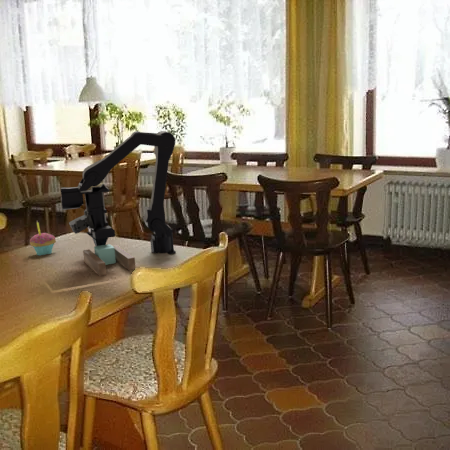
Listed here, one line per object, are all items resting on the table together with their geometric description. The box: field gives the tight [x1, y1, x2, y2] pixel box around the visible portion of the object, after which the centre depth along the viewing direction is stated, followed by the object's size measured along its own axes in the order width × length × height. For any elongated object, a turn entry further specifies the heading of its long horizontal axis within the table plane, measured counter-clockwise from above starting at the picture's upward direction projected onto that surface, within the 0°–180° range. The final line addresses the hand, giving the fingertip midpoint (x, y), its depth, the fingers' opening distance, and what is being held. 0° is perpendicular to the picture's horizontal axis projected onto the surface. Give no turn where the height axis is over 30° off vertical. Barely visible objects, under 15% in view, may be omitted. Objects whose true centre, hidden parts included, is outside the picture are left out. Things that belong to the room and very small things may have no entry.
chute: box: [82, 244, 137, 277], centre depth 199 cm, size 11×18×4 cm, turn 26°
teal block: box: [93, 243, 117, 266], centre depth 202 cm, size 5×5×5 cm
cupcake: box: [29, 220, 57, 256], centre depth 219 cm, size 9×8×12 cm
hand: (100, 254), depth 208 cm, fingers closed
